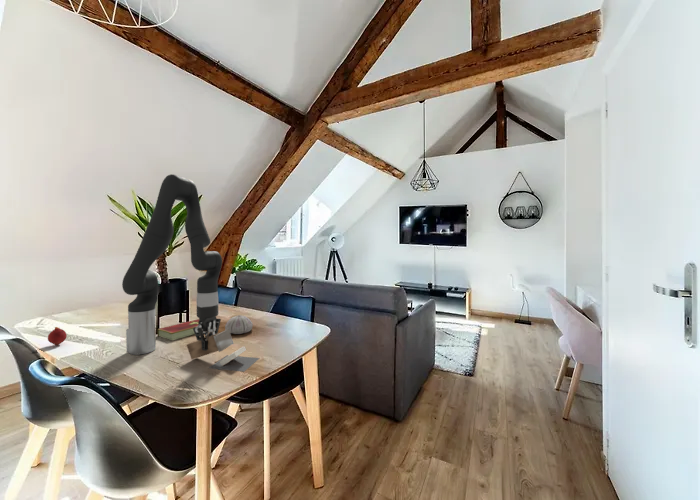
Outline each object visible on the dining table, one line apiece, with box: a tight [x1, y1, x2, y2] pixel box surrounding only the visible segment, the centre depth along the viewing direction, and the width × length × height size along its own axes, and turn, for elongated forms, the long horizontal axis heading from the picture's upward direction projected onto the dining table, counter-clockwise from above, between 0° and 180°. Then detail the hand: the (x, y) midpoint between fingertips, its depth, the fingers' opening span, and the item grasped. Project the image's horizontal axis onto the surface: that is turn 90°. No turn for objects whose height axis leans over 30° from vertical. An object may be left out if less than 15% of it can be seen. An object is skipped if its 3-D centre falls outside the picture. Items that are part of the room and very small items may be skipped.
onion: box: [47, 326, 68, 346], centre depth 129 cm, size 6×6×8 cm
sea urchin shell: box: [224, 314, 254, 335], centre depth 151 cm, size 13×14×8 cm
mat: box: [208, 354, 260, 373], centre depth 113 cm, size 14×12×1 cm
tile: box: [220, 345, 247, 366], centre depth 113 cm, size 2×7×7 cm
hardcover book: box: [157, 318, 199, 341], centre depth 149 cm, size 12×21×4 cm, turn 150°
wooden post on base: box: [186, 329, 235, 360], centre depth 115 cm, size 15×8×6 cm, turn 79°
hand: (207, 348), depth 115 cm, fingers closed on wooden post on base, 3 cm apart
